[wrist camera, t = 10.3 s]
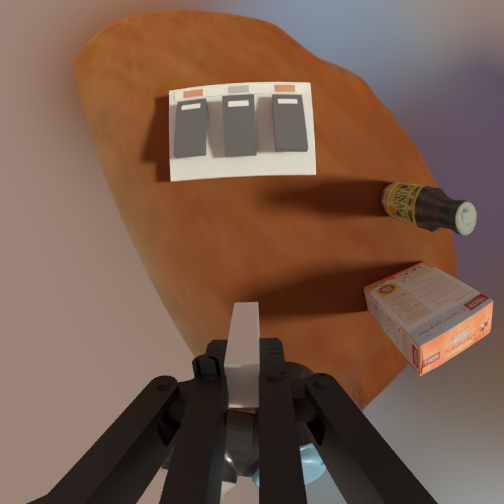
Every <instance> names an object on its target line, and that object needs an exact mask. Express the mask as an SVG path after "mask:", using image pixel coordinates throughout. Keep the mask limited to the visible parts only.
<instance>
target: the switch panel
mask: <svg viewBox="0 0 504 504" xmlns="http://www.w3.org/2000/svg"><path fill="white" fill-rule="evenodd" d="M244 94H254V105H255V128H256V152H257V156H237V157H225V142H224V124H223V106H222V96H228V95H244ZM272 94H291V95H302V100H303V107H304V115H305V123H306V131H307V140H308V150H307V152H275V139H274V125H273V112H272V100H271V99H272ZM203 98H206V100H207V142H206V156H196V157H186V158H175V156H174V155H173V154H174V136H175V121H176V109H177V102H180V101H187V100H195V99H203ZM169 151H170V177H171V181H174V182H177V181H188V180H200V179H214V178H230V177H250V176H284V175H316V160H315V140H314V124H313V111H312V99H311V88H310V83H302V82H252V83H233V84H220V85H210V86H201V87H192V88H185V89H178V90H172V91H169Z"/></svg>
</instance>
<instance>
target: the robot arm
mask: <svg viewBox="0 0 504 504" xmlns="http://www.w3.org/2000/svg"><path fill="white" fill-rule="evenodd" d="M192 365H193V370H194V376H195V377H194V379H192V380H189V381H185V382H177V380H176V379H175V378H174V377H171V376H159V377H156V378H154V379H153V380H152V381H151V382H150V383H149V384H148V385H147V386H146V387H145V388H144V389H143V390H142V392H141V393H140V394H139V395H138V396H137V397H136V398H135V399H134V400H133V402H132V403H131V404H130V405H129V406H128V407H127V408H126V409H125V411H124V412H123V413H122V414H121V415H120V416H119V417H118V418H117V419H116V420H115V422H114V423H113V424H112V425H111V426H110V427H109V428H108V429H107V430H106V431H105V433H104V434H103V435H102V436H101V437H100V438H99V439H98V440H97V441H96V442H95V443H94V445H93V446H92V447H91V448H90V449H89V450H88V451H87V452H86V453H85V454H84V455H83V457H82V458H81V459H80V460H79V461H78V462H77V463H76V464H75V465H74V466H73V468H71V470H70V471H69V472H68V473H67V474H66V475H65V476H64V477H63V478H62V479H61V480H60V481H59V483H58V484H57V485H56V486H55V487H54V488H53V489H52V490H51V491H50V492H49V493H48V494H47V495H45V496H43V497H41V498H38V499H36V500H34V501H32V502H30V503H27V504H136V503H137V502H138V500H139V499H140V497H141V496H142V494H143V493H144V491H145V490H146V488H147V487H148V485H149V484H150V482H151V481H152V479H153V478H154V476H155V475H156V473H157V472H158V470H159V469H160V467H161V466H162V467H161V471H162V472H163V474H164V475H165V476H166V479H165V483H164V487H163V491H162V495H161V499H160V502H159V504H223V499H224V494H225V492H226V491H228V490H229V489H231V488H233V487H234V486H236V482H237V476H245V477H252V479H253V482H254V484H255V485H256V486H257V487H258V488H259V504H307V498H306V490H305V485H306V484H308V483H310V482H312V481H314V480H315V479H317V478H318V477H319V476H320V475H321V474H322V473H323V472H324V470H325V469H326V468H327V470H328V471H329V473H330V475H331V477H332V478H333V480H334V482H335V484H336V485H337V487H338V488H339V491H340V492H341V494H342V495H343V497H344V499H345V501H346V502H347V504H438V503H437V502H436V501H435V500H434V499H433V497H432V496H431V495H430V494H429V493H428V491H427V490H426V489H425V488H424V487H423V486H422V484H421V483H420V482H419V481H418V480H417V479H416V477H415V476H414V475H413V474H412V472H411V471H410V470H409V469H408V468H407V467H406V465H405V464H404V463H403V462H402V461H401V459H400V458H399V457H398V456H397V454H395V452H394V451H393V450H392V449H391V447H390V446H389V445H388V444H387V443H386V441H385V440H384V439H383V438H382V436H381V435H380V434H379V433H378V431H377V430H376V429H375V428H374V427H373V425H372V424H371V423H370V422H369V421H368V419H367V418H366V417H365V415H364V414H363V413H362V412H361V411H360V409H359V408H358V407H357V406H356V404H355V403H354V402H353V401H352V399H351V398H350V397H349V396H348V394H347V393H346V392H345V391H344V389H343V388H342V387H341V386H340V384H339V383H338V382H337V381H336V379H335V378H334V377H332V376H331V375H329V374H326V373H316V374H314V373H313V372H312V371H311V370H310V369H308V368H307V367H305V366H303V365H300V364H296V363H288V362H285V359H284V352H283V346H282V342H281V341H280V340H279V339H278V338H259V312H258V302H242V303H234V308H233V314H232V320H231V326H230V331H229V337H228V340H212V341H211V342H210V343H209V344H208V346H207V350H206V353H205V354H203V355H200V356H197V357H196V358H194V360H193V361H192ZM228 404H229V407H234V408H244V407H249V408H250V410H251V412H252V413H248V412H242V411H236V410H231V409H228Z"/></svg>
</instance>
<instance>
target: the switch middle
mask: <svg viewBox="0 0 504 504" xmlns="http://www.w3.org/2000/svg"><path fill="white" fill-rule="evenodd" d="M222 106H223V124H224V142H225V157H237V156H257V152H256V128H255V105H254V94H244V95H228V96H222Z"/></svg>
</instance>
